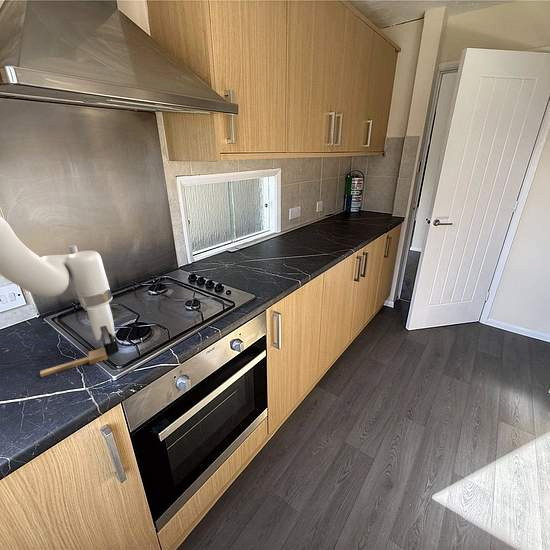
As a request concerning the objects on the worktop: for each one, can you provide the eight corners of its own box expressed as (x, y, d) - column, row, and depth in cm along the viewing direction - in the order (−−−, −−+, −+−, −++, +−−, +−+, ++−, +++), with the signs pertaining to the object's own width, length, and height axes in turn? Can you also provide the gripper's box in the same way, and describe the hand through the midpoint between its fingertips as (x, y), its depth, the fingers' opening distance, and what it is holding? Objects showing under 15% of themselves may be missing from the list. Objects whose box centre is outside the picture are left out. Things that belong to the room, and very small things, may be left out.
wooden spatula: (40, 380, 77) (38, 375, 76) (42, 370, 80) (40, 366, 80) (107, 359, 84) (106, 354, 83) (106, 351, 87) (105, 346, 87)
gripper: (80, 289, 83) (97, 343, 90) (78, 312, 71) (99, 371, 78) (109, 283, 86) (124, 335, 94) (112, 304, 75) (129, 361, 82)
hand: (112, 351), depth 86 cm, fingers closed
